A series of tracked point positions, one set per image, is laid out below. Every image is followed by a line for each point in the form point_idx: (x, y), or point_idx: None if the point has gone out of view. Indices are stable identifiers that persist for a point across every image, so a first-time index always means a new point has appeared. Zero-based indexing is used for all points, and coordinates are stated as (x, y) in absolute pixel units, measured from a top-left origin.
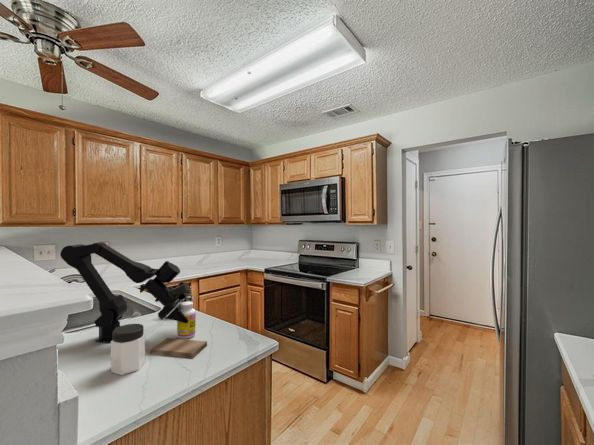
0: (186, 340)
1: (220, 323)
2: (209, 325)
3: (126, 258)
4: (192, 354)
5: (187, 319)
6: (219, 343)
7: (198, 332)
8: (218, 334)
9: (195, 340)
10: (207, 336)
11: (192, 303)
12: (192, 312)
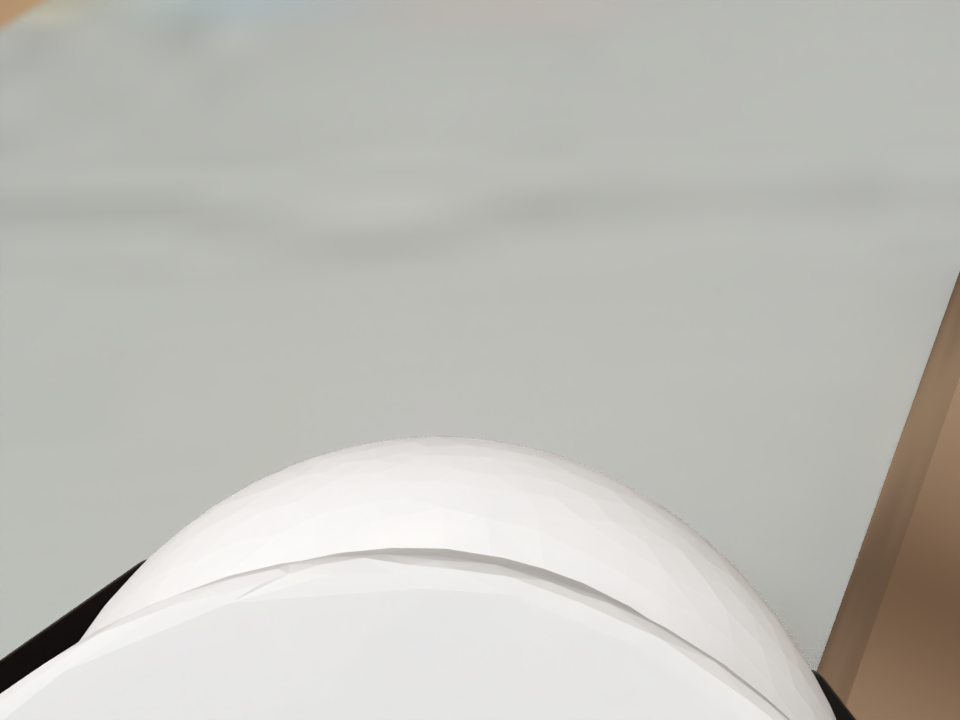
0: (918, 630)
1: (29, 83)
2: (56, 270)
3: None
4: None
5: None
6: (897, 89)
7: None
8: (536, 108)
9: (936, 450)
10: (580, 280)
11: (540, 584)
12: (695, 545)
